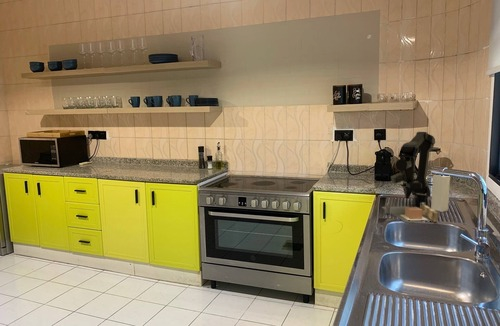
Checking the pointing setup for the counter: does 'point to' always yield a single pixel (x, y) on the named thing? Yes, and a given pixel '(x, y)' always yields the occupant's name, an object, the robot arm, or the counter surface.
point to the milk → (440, 193)
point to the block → (413, 212)
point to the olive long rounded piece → (389, 207)
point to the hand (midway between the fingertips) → (406, 198)
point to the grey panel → (400, 214)
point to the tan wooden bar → (430, 213)
